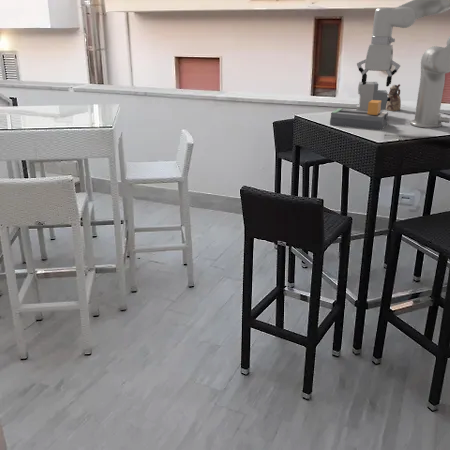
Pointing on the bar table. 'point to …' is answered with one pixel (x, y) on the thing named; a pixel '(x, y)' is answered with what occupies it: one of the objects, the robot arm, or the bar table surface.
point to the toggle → (374, 107)
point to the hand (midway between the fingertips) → (375, 85)
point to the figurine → (394, 99)
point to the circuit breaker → (371, 95)
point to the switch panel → (357, 123)
